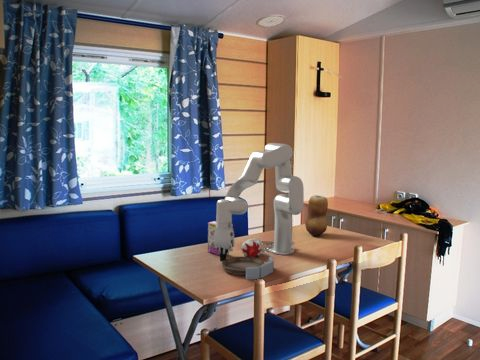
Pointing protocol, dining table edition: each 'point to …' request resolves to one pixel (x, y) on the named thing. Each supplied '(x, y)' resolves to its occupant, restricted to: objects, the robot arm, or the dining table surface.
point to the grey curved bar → (260, 270)
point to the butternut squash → (317, 215)
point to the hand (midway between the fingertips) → (223, 260)
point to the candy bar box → (212, 238)
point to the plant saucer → (241, 264)
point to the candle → (251, 248)
